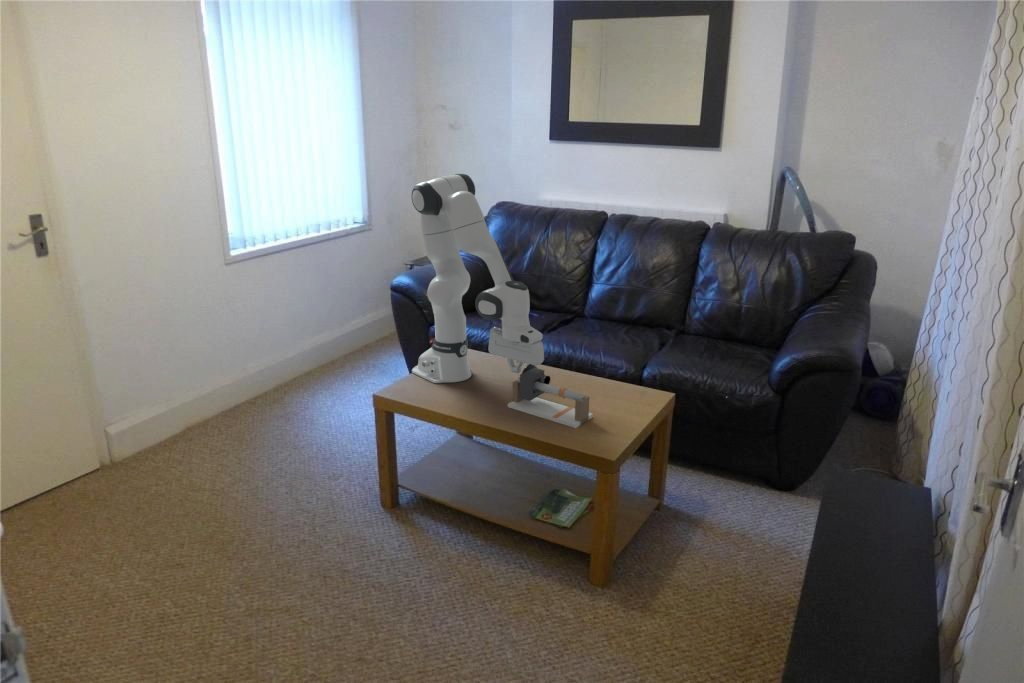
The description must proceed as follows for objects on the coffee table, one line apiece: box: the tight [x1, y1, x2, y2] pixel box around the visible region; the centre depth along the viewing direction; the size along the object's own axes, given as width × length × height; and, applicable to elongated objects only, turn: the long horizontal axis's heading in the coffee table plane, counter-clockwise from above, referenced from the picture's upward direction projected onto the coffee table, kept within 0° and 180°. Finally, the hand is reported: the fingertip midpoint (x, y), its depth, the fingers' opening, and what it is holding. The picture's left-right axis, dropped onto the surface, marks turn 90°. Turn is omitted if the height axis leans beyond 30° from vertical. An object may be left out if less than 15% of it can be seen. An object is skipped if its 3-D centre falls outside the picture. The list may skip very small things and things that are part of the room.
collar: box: [519, 367, 545, 401], centre depth 228 cm, size 4×8×8 cm, turn 144°
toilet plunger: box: [521, 364, 551, 385], centre depth 244 cm, size 8×18×8 cm
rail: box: [507, 376, 594, 429], centre depth 225 cm, size 26×10×10 cm, turn 54°
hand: (515, 371), depth 231 cm, fingers closed
